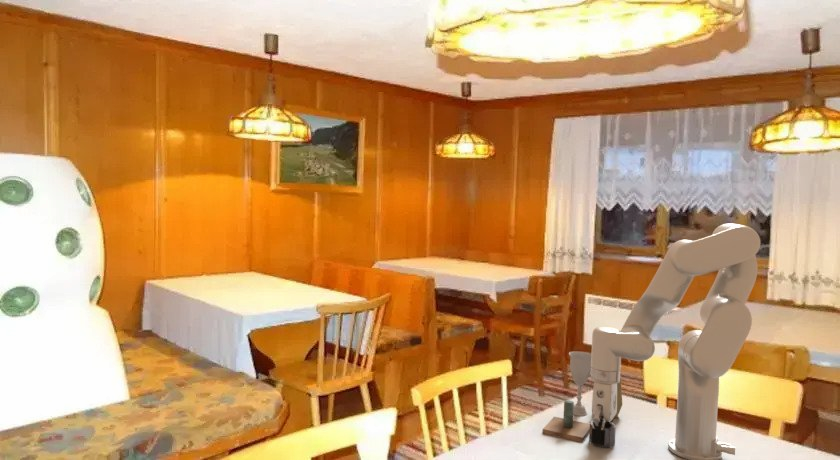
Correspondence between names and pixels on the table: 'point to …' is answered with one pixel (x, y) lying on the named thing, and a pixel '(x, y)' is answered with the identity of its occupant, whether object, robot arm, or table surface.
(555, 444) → the table surface
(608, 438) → the ring
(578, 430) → the post stand
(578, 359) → the chalice
